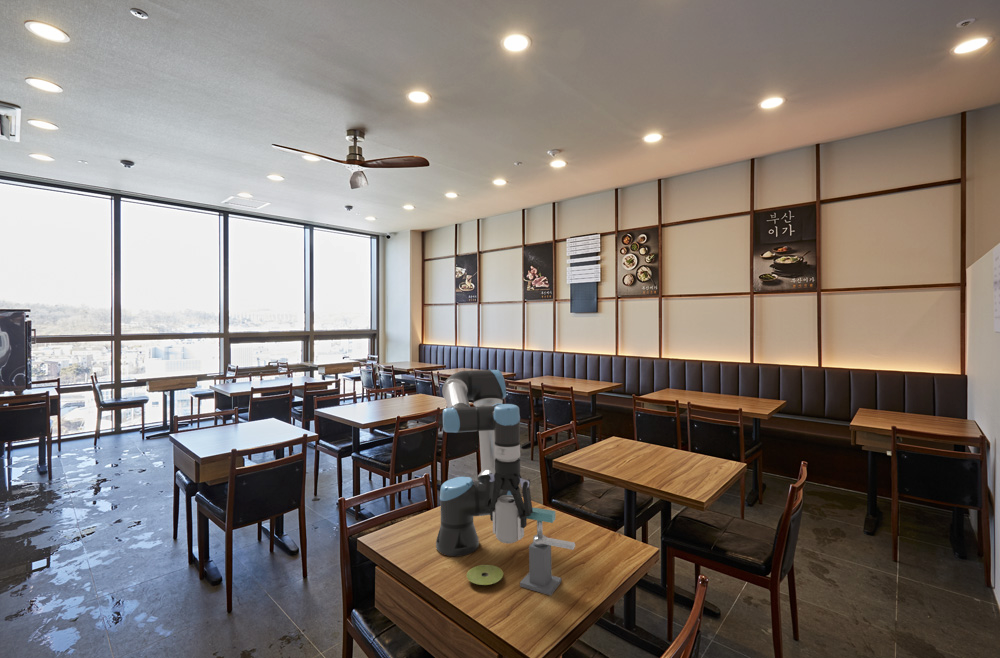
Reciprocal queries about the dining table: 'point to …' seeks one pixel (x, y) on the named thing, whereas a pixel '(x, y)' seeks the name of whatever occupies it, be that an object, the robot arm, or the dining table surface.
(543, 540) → the teal grip latch lever
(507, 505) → the can
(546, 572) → the grey pedestal post
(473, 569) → the mat
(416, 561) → the dining table surface
